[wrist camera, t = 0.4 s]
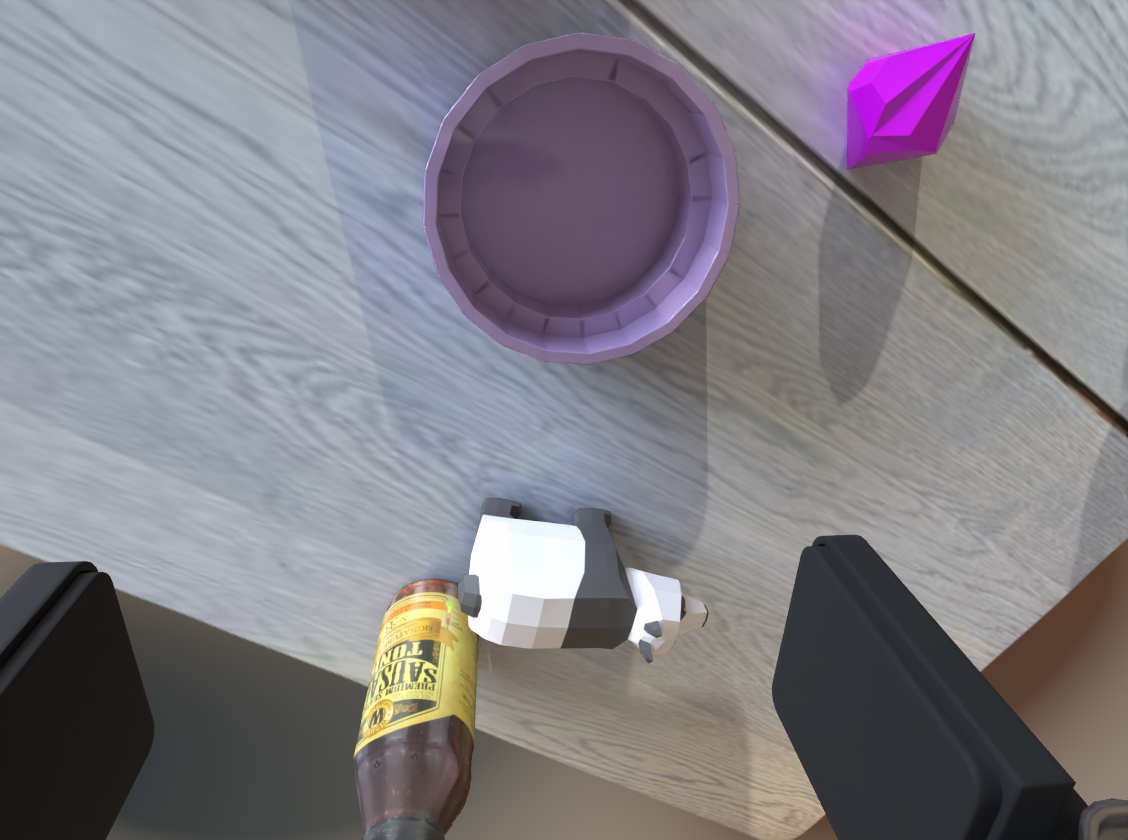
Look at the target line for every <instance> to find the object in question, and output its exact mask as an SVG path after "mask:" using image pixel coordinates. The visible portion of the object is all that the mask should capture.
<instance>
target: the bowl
mask: <svg viewBox="0 0 1128 840" xmlns="http://www.w3.org/2000/svg"><path fill="white" fill-rule="evenodd" d="M739 208H740V197H739V185H738V173H737V162H736V154H735V150H734V148H733V145H732V143H731V141H730V138H729V136H728V134H727V131H726V129H725V126H724V124H723V122H722V119H721V117H720V114H719V112H718V110H717V107H716V106H715V104H714V102H713V101H712V100H711V99H710V98H709V97H708V96H707V94H706V93H705V92H704V91H703V90H702V89H701V88H700V87H699V85H698V84H697V83H696V82H695V81H694V80H693V79H692V78H691V76H690V75H689V74H688V73H687V72H686V71H685V70H684V69H683V67H682V66H680V65H679V64H677V63H676V62H674V61H672V60H670V59H668V58H666V57H664V56H663V55H661V54H659V53H657V52H655V51H653V50H652V49H650V48H648V47H646V46H644V45H642V44H641V43H639V42H637V41H635V40H632V39H626V38H619V37H612V36H604V35H597V34H590V33H582V32H579V33H572V34H568V35H564V36H559V37H555V38H551V39H546V40H542V41H537V42H533V43H529V44H526V45H523V46H521V47H520V48H518V49H517V50H515V51H514V52H512V53H511V54H509V55H508V56H506V57H504V58H503V59H501V60H500V61H498V62H497V63H495V64H494V65H492V66H491V67H489V68H488V69H486V70H484V71H483V72H481V73H480V74H478V76H476V77H475V79H474V80H473V81H472V83H471V84H470V85H469V86H468V88H467V89H466V90H465V92H464V93H463V94H462V95H461V97H460V98H459V99H458V101H457V102H456V103H455V105H454V106H453V107H452V108H451V110H450V111H449V112H448V114H447V115H446V116H445V118H444V119H443V121H442V123H441V126H440V129H439V132H438V135H437V137H436V140H435V143H434V146H433V149H432V152H431V155H430V158H429V160H428V163H427V166H426V169H425V174H424V209H423V225H424V231H425V234H426V238H427V241H428V244H429V248H430V251H431V255H432V258H433V262H434V265H435V268H436V272H437V274H438V277H439V278H440V280H441V281H442V283H443V284H444V286H445V287H446V289H447V290H448V292H449V293H450V295H451V296H452V298H453V299H454V301H455V302H456V304H457V305H458V307H459V308H460V310H461V311H462V313H463V314H464V315H465V316H466V317H467V318H468V319H469V320H471V321H472V322H473V323H474V324H476V325H477V326H478V327H479V328H481V329H482V330H483V331H484V332H486V333H487V334H488V335H489V336H491V337H492V338H493V339H494V340H496V341H497V342H498V343H499V344H501V345H503V346H505V347H508V348H510V349H513V350H516V351H518V352H521V353H523V354H526V355H529V356H531V357H534V358H536V359H539V360H542V361H545V362H557V363H572V364H588V365H589V364H594V363H598V362H602V361H607V360H611V359H615V358H619V357H624V356H628V355H632V354H633V353H634V354H635V353H637V352H638V351H640V350H642V349H644V348H645V347H647V346H649V345H651V344H652V343H654V342H656V341H658V340H659V339H661V338H663V337H665V336H666V335H668V334H670V333H672V332H673V330H675V329H676V328H677V327H678V326H679V325H680V324H681V323H682V322H683V321H684V320H685V319H686V318H687V317H688V316H689V315H690V314H691V313H692V312H693V311H694V310H695V309H696V308H697V307H698V306H699V305H700V304H701V303H702V302H703V300H704V299H705V298H706V297H707V296H708V294H709V292H710V290H711V289H712V287H713V285H714V283H715V281H716V279H717V277H718V275H719V274H720V272H721V270H722V268H723V266H724V264H725V262H726V260H727V259H728V257H729V254H730V251H731V246H732V241H733V237H734V232H735V227H736V222H737V218H738V213H739Z"/></svg>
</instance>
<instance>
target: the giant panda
mask: <svg viewBox="0 0 1128 840" xmlns="http://www.w3.org/2000/svg"><path fill="white" fill-rule="evenodd" d="M521 512H522V511H521V505H520V503H518V502H515V501H512V500H506V499H501V498H487V499H486V500H485V502H484V504H483V505H482V508H481V515H480V524H479V530H478V533H477V537H476V540H475V544H474V547H473V551H472V554H471V563H470V572H469V575H463V577H462V579H461V581H460V582H459V584H458V599H459V605H460V609H461V612H463V613H465V614H467V615H468V621H469V627H470V629H471V630H473V631H474V632H476V633H477V634H478V635H480V636H481V637H483V638H484V639H486V640H489V641H491V642H494V643H497V644H499V645H505V646H513V647H521V648H529V649H549V648H606V649H613V648H615V647H616V646H618V645H619V644H621V643H623V642H624V641H626V640H627V639H628V640H629V641H631V642H632V643H633V644H634V645H635V646H636V647H638V648H639V649H640V653H641V654H642V655H643V657H644V658H645V659H646V661H647V662H648V663H650V662H653V659H652V656H654V655H662V654H668V653H669V651H670V650H671V648H672V646H673V644H674V643H675V641H676V639H677V637H678V635H681V634H684V633H686V632H689V631H692V630H695V629H698V628H700V627H703V626H704V624H705V622H706V621H707V617H708V613H709V612H708V610H707V608H706V606H705V605H704V604H703V603H702V602H701V601H700V600H697V599H695V598H693V597H691V596H689V595H686V594H684V593H682V589H681V586H680V583H679V580H676V579H672V578H668V577H663V576H659V575H656V574H652V573H648V572H645V571H641V570H637V569H634V568H624V567H623V564H622V562H621V560H620V558H619V555H618V552H617V550H616V547H615V545H614V542H613V540H612V537H611V535H610V533H609V530H608V527H609V525H610V524H611V512H609V511H606V510H601V509H594V508H584V509H578V510H577V512H576V513H575V514H574V516H573V520H574V526H572V525H564V524H555V523H547V522H539V521H529V520H520V519H518V517H519V516H520V514H521Z"/></svg>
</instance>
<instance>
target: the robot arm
mask: <svg viewBox="0 0 1128 840" xmlns="http://www.w3.org/2000/svg"><path fill="white" fill-rule="evenodd" d="M772 696H773V702H774V706H775V709H776V711H777V714H778V716H779V718H780V720H781V722H782V724H783V726H784V728H785V730H786V732H787V734H788V736H789V739H790V741H791V743H792V745H793V747H794V749H795V751H796V753H797V755H798V757H799V759H800V761H801V763H802V765H803V768H804V770H805V772H806V774H807V776H808V778H809V780H810V782H811V784H812V786H813V788H814V790H815V792H816V794H817V797H818V799H819V801H820V803H821V805H822V807H823V809H824V811H825V813H826V815H827V817H828V819H829V821H830V824H831V826H832V828H833V830H834V832H835V834H836V836H837V838H838V840H1128V800H1119V799H1112V798H1111V799H1106V800H1101V801H1095V802H1093V803H1092V804H1091V805H1090V806H1088V805H1087V804H1086V803H1085V802H1084V800H1083V799H1082V798H1081V797H1080V796H1079V795H1078V793H1077V792H1076V791H1075V790H1074V789H1073V787H1074V785H1075V783H1076V782H1075V781H1074V780H1073V779H1072V778H1071V777H1070V775H1069V774H1068V773H1067V772H1066V771H1065V770H1064V769H1063V767H1062V766H1061V765H1060V764H1059V763H1058V761H1057V760H1056V759H1055V758H1054V757H1053V756H1052V755H1051V753H1050V752H1049V751H1048V750H1047V749H1046V748H1045V747H1044V745H1043V744H1042V743H1041V742H1040V741H1039V740H1038V738H1037V737H1036V736H1035V735H1034V734H1033V733H1032V732H1031V730H1030V729H1029V728H1028V727H1027V726H1026V725H1025V724H1024V722H1023V721H1022V720H1021V719H1020V718H1019V717H1018V715H1017V714H1016V713H1015V712H1014V711H1013V710H1012V709H1011V707H1010V706H1009V705H1008V704H1007V703H1006V702H1005V700H1004V699H1003V698H1002V697H1001V696H1000V695H999V693H998V692H997V691H996V690H995V689H994V688H993V687H992V685H991V684H990V683H989V682H988V681H987V680H986V679H985V677H984V676H983V675H982V674H981V673H980V672H979V670H978V669H977V668H976V667H975V666H974V665H973V664H972V662H971V661H970V660H969V659H968V658H967V657H966V655H965V654H964V653H963V652H962V651H961V650H960V649H959V647H958V646H957V645H956V644H955V643H954V642H953V640H952V639H951V638H950V637H949V636H948V635H947V634H946V632H945V631H944V630H943V629H942V628H941V627H940V625H939V624H938V623H937V622H936V621H935V620H934V619H933V617H932V616H931V615H930V614H929V613H928V612H927V610H926V609H925V608H924V607H923V606H922V605H921V604H920V602H919V601H918V600H917V599H916V598H915V597H914V595H913V594H912V593H911V592H910V591H909V590H908V589H907V587H906V586H905V585H904V584H903V583H902V582H901V580H900V579H899V578H898V577H897V576H896V575H895V574H894V572H893V571H892V570H891V569H890V568H889V567H888V566H887V564H886V563H885V562H884V561H883V560H882V559H881V557H880V556H879V555H878V554H877V553H876V552H875V551H874V549H873V548H872V547H871V546H870V545H869V544H868V542H867V541H866V540H865V539H864V538H862V537H861V536H859V535H834V536H819V537H817V538H816V539H815V540H814V542H813V544H812V546H810V547H806V548H804V550H803V551H802V554H801V557H800V562H799V566H798V571H797V575H796V580H795V584H794V589H793V593H792V598H791V602H790V607H789V611H788V616H787V620H786V625H785V629H784V634H783V638H782V643H781V647H780V652H779V656H778V661H777V665H776V670H775V674H774V679H773V684H772ZM153 738H154V721H153V717H152V714H151V710H150V707H149V704H148V700H147V697H146V694H145V690H144V687H143V683H142V680H141V677H140V673H139V670H138V667H137V663H136V660H135V657H134V653H133V650H132V646H131V643H130V640H129V636H128V633H127V629H126V626H125V623H124V619H123V616H122V613H121V609H120V606H119V603H118V599H117V596H116V593H115V589H114V586H113V582H112V580H111V578H110V576H109V575H108V574H107V573H104V572H98V570H97V568H96V567H95V566H94V565H93V564H92V563H91V562H87V561H79V562H50V563H39V564H35V565H33V566H32V567H31V568H29V569H28V570H27V571H26V572H25V573H24V574H23V575H22V576H21V577H20V578H19V579H18V580H17V582H16V583H15V584H14V585H13V586H12V587H11V588H10V589H9V590H8V591H7V592H6V593H5V594H4V595H3V596H2V597H1V599H0V840H106V838H107V836H108V834H109V832H110V830H111V828H112V826H113V824H114V822H115V820H116V818H117V816H118V814H119V812H120V810H121V808H122V806H123V804H124V802H125V800H126V798H127V796H128V794H129V792H130V790H131V788H132V786H133V784H134V782H135V780H136V778H137V776H138V774H139V772H140V770H141V768H142V766H143V764H144V762H145V760H146V758H147V756H148V754H149V752H150V749H151V746H152V742H153Z"/></svg>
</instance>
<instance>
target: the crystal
mask: <svg viewBox="0 0 1128 840" xmlns="http://www.w3.org/2000/svg"><path fill="white" fill-rule="evenodd" d="M974 37H975V34H970V35H966V36H962V37H958V38H954V39H950V40H945V41H941V42H937V43H933V44H929V45H925V46H920V47H916V48H912V49H908V50H904V51H900V52H896V53H891V54H887V55H883V56H879V57H875V58H871V59H868V60H867V61H866V62H865V64H864V65H863V66H862V68H861V69H860V70H859V72H858V73H857V74H856V76H855V77H854V78H853V80H852V81H851V82H850V84H849V87H848V117H847V169H852V168H858V167H864V166H869V165H875V164H881V163H886V162H892V161H898V160H904V159H909V158H915V157H921V156H926V155H932V154H936V153H937V152H938V150H939V149H940V147H941V145H942V143H943V141H944V140H945V138H946V136H947V134H948V132H949V131H950V129H951V127H952V125H953V123H954V120H955V116H956V111H957V107H958V103H959V99H960V95H961V91H962V87H963V82H964V78H965V74H966V70H967V66H968V62H969V58H970V53H971V49H972V45H973V41H974Z"/></svg>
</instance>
